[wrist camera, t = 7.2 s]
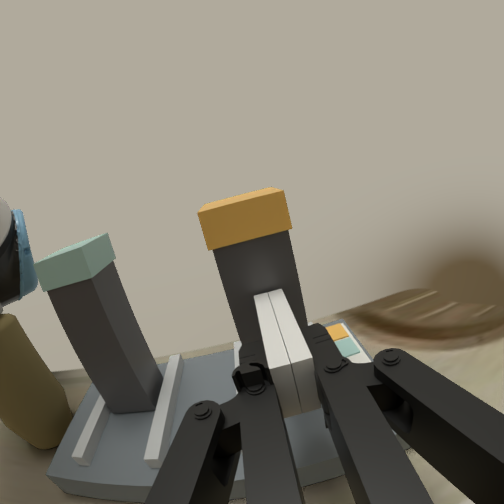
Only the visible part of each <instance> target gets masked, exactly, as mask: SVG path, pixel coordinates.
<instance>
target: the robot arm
mask: <svg viewBox="0 0 504 504" xmlns="http://www.w3.org/2000/svg"><path fill="white" fill-rule="evenodd" d="M33 264H34V261H33V258H32V254H31V250H30V245H29V241H28V235H27V231H26V226H25V222H24V217H23V212H22V211H21V210H19V209H18V210H12V211H11V210H10V208H9V206H8V204H7V202H6V201H5V200H4V199H2V198H0V303H1V306H2V307H4V306H6V305H8V304H10V303H12V302H15V301H17V300H20V299H21V298H22V297H23V296H25V295H27V294H28V293H30V292H32V291H34V290H35V288H36V287H37V285H38V277H37V274H36V272H35V269H34V266H33ZM268 294H269V296H268ZM269 298H270V299H269ZM254 300H255V305H256V309H257V314H258V319H259V324H260V329H261V334H262V338H263V339H261V340H257V341H253V342H249V343H245V344H242V346H241V347H240V349H239V351H238V353H239V366H237V367H236V368H235V369H234V371H233V372H232V379H233V381H234V384H235V386H236V389H237V392H238V394H237V395H236V396H235V397H234V398H232V399H231V400H229V401H227V402H225V403H223V404H220V405H219V404H218V403H216V402H214V401H210V400H205V401H200V402H197V403H195V404H193V405H192V406H191V407H189V408H188V410H187V411H186V413H185V415H184V417H183V420H182V422H181V424H180V426H179V428H178V431H177V433H176V435H175V437H174V439H173V442H172V444H171V446H170V448H169V450H168V452H167V455H166V457H165V459H164V461H163V463H162V466H161V468H160V470H159V472H158V474H157V476H156V479H155V481H154V483H153V485H152V487H151V490H150V492H149V494H148V496H147V498H146V500H145V503H144V504H228V502H229V498H230V495H231V491H232V487H233V483H234V479H235V475H236V471H237V467H238V463H239V459H240V454H241V450H242V455H243V467H244V479H245V490H246V501H247V504H305V501H304V497H303V493H302V489H301V485H300V481H299V476H298V472H297V468H296V464H295V460H294V456H293V452H292V448H291V444H290V440H289V435H288V431H287V427H286V424H285V421H284V418H288V417H291V416H295V415H299V414H302V412H303V413H306V412H310V411H313V410H316V409H320V408H321V405H322V408H323V413H324V420H325V426H326V428H328V429H329V432H330V434H331V437H332V440H333V442H334V445H335V448H336V451H337V453H338V456H339V459H340V461H341V464H342V467H343V470H344V472H345V475H346V478H347V480H348V483H349V486H350V489H351V491H352V494H353V497H354V500H355V502H356V504H434V503H433V501H432V500H431V498H430V496H429V494H428V492H427V491H426V489H425V487H424V485H423V483H422V481H421V480H420V478H419V476H418V474H417V473H416V471H415V469H414V467H413V465H412V464H411V462H410V460H409V458H408V457H407V455H406V453H405V451H404V450H403V448H402V446H401V444H400V443H399V441H398V439H397V437H396V436H395V434H394V432H395V433H396V434H397V435H399V436H400V437H401V438H402V439H403V440H404V441H405V442H406V443H407V444H408V445H409V446H411V447H412V448H413V449H414V450H415V451H416V452H417V453H418V454H419V455H420V456H422V457H423V458H424V459H425V460H426V461H427V462H428V463H429V464H430V465H432V466H433V467H434V468H435V469H436V470H437V471H438V472H439V473H441V474H442V475H443V476H444V477H445V478H446V479H447V480H448V481H450V482H451V483H452V484H453V485H454V486H455V487H456V488H458V489H459V490H460V491H461V492H462V493H463V494H465V495H466V496H467V497H468V498H469V499H470V500H472V501H473V502H474V503H475V504H504V414H502V413H501V412H499V411H498V410H496V409H494V408H493V407H491V406H490V405H488V404H487V403H485V402H483V401H482V400H480V399H479V398H477V397H476V396H474V395H472V394H471V393H469V392H468V391H466V390H465V389H463V388H461V387H460V386H458V385H457V384H455V383H454V382H452V381H450V380H449V379H447V378H446V377H444V376H443V375H441V374H440V373H438V372H436V371H435V370H433V369H432V368H430V367H429V366H427V365H425V364H424V363H422V362H421V361H419V360H418V359H416V358H414V357H413V356H411V355H410V354H408V353H407V352H405V351H403V350H401V349H396V348H390V349H385V350H383V351H380V352H379V353H378V354H377V355H375V357H374V359H373V362H368V363H353V362H351V361H350V360H349V359H348V358H346V357H344V356H342V354H341V352H340V351H339V349H338V347H337V346H336V344H335V343H334V341H333V339H332V338H331V336H330V334H329V333H328V331H327V329H326V328H325V327H324V326H322V325H320V324H319V323H316V324H313V325H309V326H306V327H302V328H299V326H298V324H297V322H296V319H295V317H294V315H293V313H292V310H291V308H290V306H289V304H288V302H287V299H286V297H285V295H284V293H283V291H282V289H278V290H274V291H270V292H268V293H263V294H259V295H255V296H254ZM300 406H301V407H300ZM301 409H302V411H301ZM392 430H393V431H394V432H393V431H392Z"/></svg>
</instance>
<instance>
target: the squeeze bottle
mask: <svg viewBox="0 0 504 504" xmlns="http://www.w3.org/2000/svg"><path fill="white" fill-rule="evenodd" d="M2 311H3V308H2V306H1V303H0V418H1V419H2V421H3V422H4V424H5V426H6V427H8V428H9V429H10V430H12V431H13V432H14V433H16V434H17V435H19V436H20V437H21V438H23V439H24V440H26V441H27V442H29V443H30V444H32V445H33V446H35V447H37V448H38V449H50V448H53V447H56V446H57V445H59V444H60V443H61V441H62V439H63V437H64V435H65V433H66V431H67V429H68V427H69V425H70V423H71V421H72V419H73V418H72V415H71V411H70V408H69V405H68V402H67V398H66V395H65V392H64V389H63V387H62V386H61V385H60V383H59V382H58V381H57V379H56V378H55V377H54V375H53V374H52V373H51V371H50V370H49V369H48V367H47V366H46V364H45V363H44V361H43V360H42V359H41V357H40V356H39V354H38V352H37V351H36V349H35V348H34V346H33V345H32V343H31V342H30V340H29V338H28V337H27V336H26V334H25V332H24V330H23V329H22V327H21V325H20V324H19V322H18V320H17V318H16V316H14V315H12V314H1V313H2Z"/></svg>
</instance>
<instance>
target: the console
mask: <svg viewBox="0 0 504 504" xmlns="http://www.w3.org/2000/svg"><path fill="white" fill-rule="evenodd" d="M309 325H313V324H312V322H308V326H309ZM322 326H324V327H325V328H326V329H327V331H328V333H329V334H330V336H331V338H332V339H333V341H334V343H335V344H336V346H337V347H338V349H339V351H340V352H341V354H342V356H344V357H346V358H348V359H349V360H350V361H351V362H353V363H368V362H373V359H372V357H371V356H370V355H369V353H368V352H367V351H366V349H365V348H364V347H363V345H362V344H361V343H360V341H359V340H358V339H357V337H356V336H355V335H354V333H353V332H352V331H351V329H350V328H349V327H348V325H347V324H346V323H345V321H344V320H343V319H340V320H337V321H334V322H331V323H328V324H324V325H322ZM241 346H242V344H241V341H237V342H234V349H231V350H227V351H223V352H218V353H214V354H209V355H204V356H199V357H194V358H189V359H184V360H183V359H182V357H181V355H180V354H177V355H172V356H170V358H169V361H168V363H163V364H157V366H158V368H159V370H160V372H161V374H162V376H163V378H164V380H163V383H162V387H161V391H160V395H159V398H158V402H157V406H156V410H149V411H139V412H127V413H112V412H111V410H110V409H109V407H108V406H107V404H106V403H105V401H104V400H103V398H102V396H101V395H100V393H99V392H98V390H97V389H96V387H95V385H94V384H93V382H92V384H91V386H90V387H89V389H88V391H87V393H86V395H85V397H84V398H83V400H82V402H81V404H80V406H79V408H78V410H77V411H76V413H75V415H74V417H73V419H72V421H71V423H70V425H69V427H68V429H67V431H66V433H65V435H64V437H63V439H62V441H61V443H60V445H59V447H58V449H57V451H56V453H55V455H54V457H53V459H52V462H51V464H50V466H49V468H48V470H47V472H46V476H47V477H48V478H49V479H51V480H52V481H53V482H54V483H55V484H56V485H57V486H58V487H59V488H60V489H61V490H63V491H64V492H65V493H69V494H74V495H79V496H85V497H91V498H98V499H106V500H114V501H125V502H139V503H145V500H146V498H147V496H148V494H149V492H150V490H151V487H152V485H153V483H154V481H155V479H156V476H157V474H158V472H159V470H160V468H161V466H162V463H163V461H164V459H165V457H166V455H167V452H168V450H169V448H170V446H171V444H172V442H173V439H174V437H175V435H176V433H177V431H178V428H179V426H180V424H181V422H182V420H183V417H184V415H185V413H186V411H187V410H188V408H189V407H191V406H192V405H193V404H195V403H197V402H200V401H205V400H210V401H214V402H216V403H218V404H219V405H220V404H223V403H225V402H227V401H229V400H231V399H232V398H234V397H235V396H236V395H237V394H238V392H237V389H236V386H235V384H234V381H233V379H232V372H233V371H234V369H235V368H236V367H237V366H239V353H238V351H239V349H240V347H241ZM300 407H301V406H300ZM301 411H302V409H301ZM284 421H285V424H286V427H287V431H288V435H289V440H290V444H291V448H292V452H293V456H294V460H295V464H296V468H297V472H298V476H299V481H300V485H301V487H303V486H307V485H311V484H315V483H318V482H322V481H325V480H329V479H332V478H335V477H338V476H341V475H344V474H345V472H344V470H343V467H342V464H341V461H340V459H339V456H338V453H337V451H336V448H335V445H334V442H333V440H332V437H331V434H330V432H329V429H328V428H326V426H325V420H324V413H323V408H322V405H321V408H320V409H316V410H313V411H310V412H306V413H303V412H302V414H299V415H295V416H291V417H288V418H284ZM392 431H393V430H392ZM393 432H394V431H393ZM394 434H395V436H396V437H397V439H398V441H399V443H400V444H401V446H402V448H403V450H407V449H409V448H411V446H409V445H408V444H407V443H406V442H405V441H404V440H403V439H402V438H401V437H400V436H399V435H397V434H396V433H395V432H394ZM241 498H246V490H245V479H244V467H243V455H242V450H241V454H240V459H239V463H238V467H237V471H236V475H235V479H234V483H233V487H232V491H231V495H230V498H229V500H233V499H241Z"/></svg>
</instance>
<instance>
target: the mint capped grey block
mask: <svg viewBox="0 0 504 504" xmlns="http://www.w3.org/2000/svg"><path fill="white" fill-rule="evenodd" d="M115 258H116V257H115V254H114V251H113V248H112V245H111V242H110V239H109V236H108V233H105V234H102V235H99V236H96V237H93V238H90V239H87V240H85V241H82V242H79V243H76V244H74V245H70V246H68V247H65V248H62V249H61V250H59V251H57V252H55V253H53V254H51V255H49V256H47V257H45V258H43V259H42V260H40V261H38V262H36V263H34V264H33V266H34V269H35V272H36V274H37V277H38V280H39V282H40V285H41V287H42V290H43V292H45V291H47V292H48V295H49V297H50V300H51V302H52V304H53V306H54V309H55V311H56V313H57V316H58V318H59V320H60V322H61V324H62V326H63V328H64V330H65V332H66V334H67V336H68V338H69V340H70V342H71V344H72V346H73V348H74V350H75V352H76V354H77V356H78V358H79V359H80V361H81V363H82V365H83V367H84V368H85V370H86V372H87V374H88V375H89V377H90V379H91V380H92V382H93V384H94V385H95V387H96V389H97V390H98V392H99V393H100V395H101V396H102V398H103V400H104V401H105V403H106V404H107V406H108V407H109V409H110V410H111V412H112V413H127V412H139V411H149V410H156V406H157V402H158V398H159V395H160V391H161V387H162V383H163V380H164V378H163V376H162V374H161V372H160V370H159V368H158V366H157V364H156V362H155V360H154V358H153V356H152V354H151V352H150V350H149V347H148V345H147V343H146V341H145V339H144V336H143V334H142V333H141V330H140V327H139V325H138V323H137V321H136V318H135V316H134V313H133V311H132V309H131V306H130V304H129V302H128V299H127V296H126V294H125V291H124V289H123V286H122V283H121V281H120V278H119V275H118V273H117V270H116V267H115V265H114V262H113V260H114V259H115Z"/></svg>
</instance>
